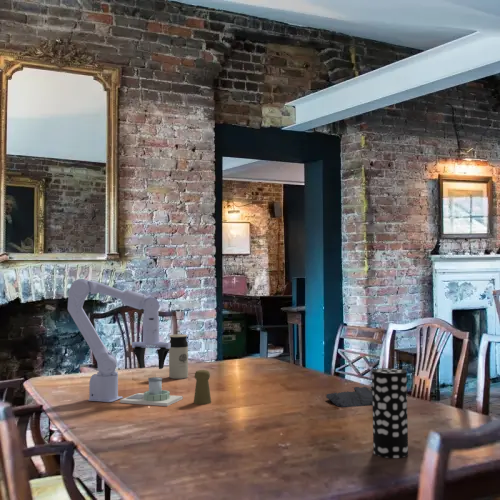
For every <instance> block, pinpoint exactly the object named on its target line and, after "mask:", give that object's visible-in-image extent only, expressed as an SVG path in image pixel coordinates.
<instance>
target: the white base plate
mask: <svg viewBox="0 0 500 500" xmlns="http://www.w3.org/2000/svg"><path fill="white" fill-rule="evenodd" d="M170 393H171V392H170V391H169V390H164V389H162V394H159V395H151V394H149V390H148V391H147V390H146V391H145V392H142V393H139V392H138V393H135V394H131V395H130V396H126V397H123V398H121V399H119V403H120V404H130V405H132V404H133V405H144V406H145V405H147V406H160V407H169V406H170V405H172V404H175V403H177V402H179V401H181V400H183V399H184V398H183V396H182V395H171V394H170Z"/></svg>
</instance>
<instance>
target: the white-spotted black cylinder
mask: <svg viewBox="0 0 500 500" xmlns="http://www.w3.org/2000/svg"><path fill="white" fill-rule="evenodd" d="M407 375H408V373H407V370H405V369H401V368H394V367H393V368H391V367H390V368H388V367H387V368H386V367H385V368H383V367H382V368H374V369H372V370H371V382H372V383H371V387H372V388H371V389H372V400H373V405H372V439H373V440H372V444H373V445H372V446H373V447H372V448H373V449H372V452H373V455H376V456H377V457H381V458H385V459H400V458H401V459H402V458H405V457H407V456H408V455H409V436H408V435H409V433H408V430H409V429H408V427H409V426H408V424H409V423H408V386H407V385H408V384H407V383H408V379H407V378H408V377H407Z"/></svg>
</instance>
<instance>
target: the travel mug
mask: <svg viewBox="0 0 500 500" xmlns="http://www.w3.org/2000/svg"><path fill="white" fill-rule="evenodd" d="M187 337H188V334H186V333H185V334H182V333H181V334H179V333H178V334H177V333H176V334H175V333H174V334H169V338H170V340H169V342H168V343H171V348H169V352H168V373H169V374H168V377H169V378H170V379H172V380H182V379H186V378H188V377H189V343H188V340H187Z"/></svg>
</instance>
